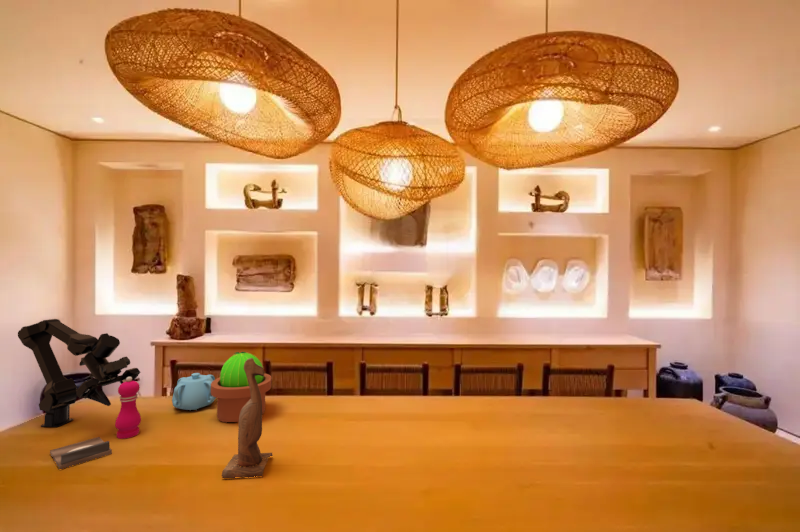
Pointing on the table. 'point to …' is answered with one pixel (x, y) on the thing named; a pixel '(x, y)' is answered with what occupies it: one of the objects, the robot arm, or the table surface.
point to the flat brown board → (80, 452)
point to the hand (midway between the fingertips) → (123, 400)
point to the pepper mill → (128, 410)
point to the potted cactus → (236, 387)
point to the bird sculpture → (249, 431)
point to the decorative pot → (193, 392)
